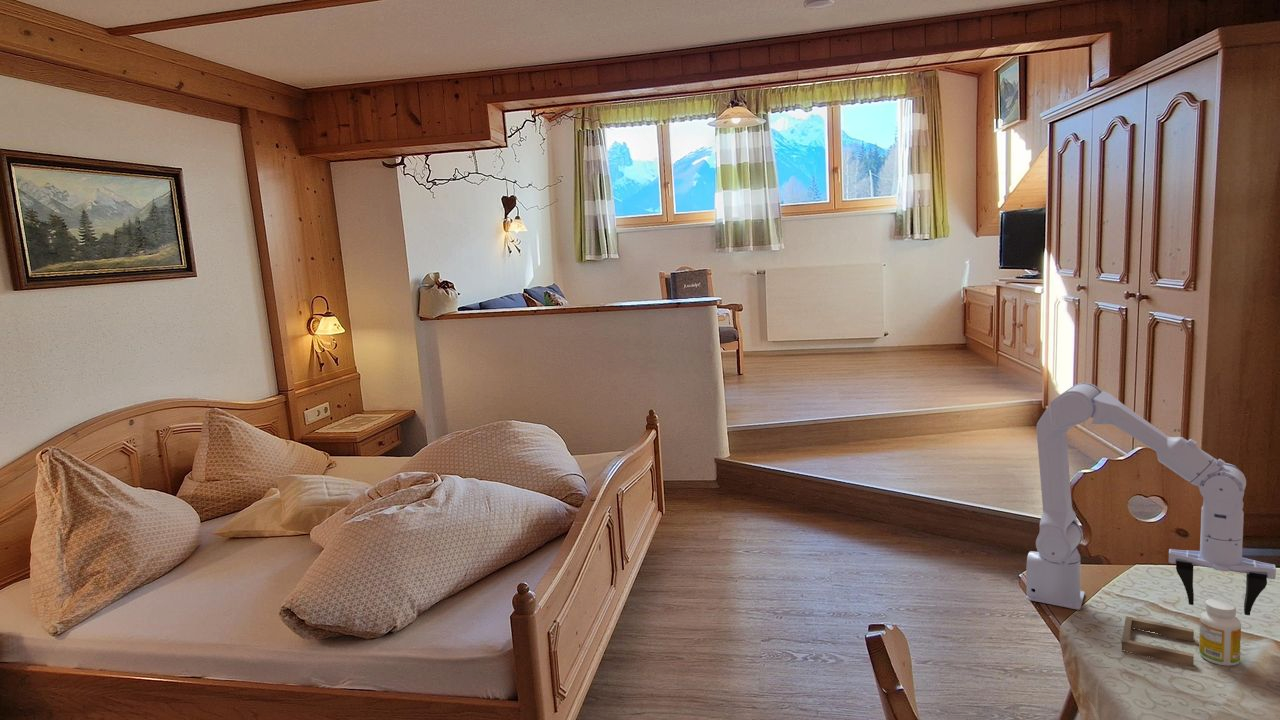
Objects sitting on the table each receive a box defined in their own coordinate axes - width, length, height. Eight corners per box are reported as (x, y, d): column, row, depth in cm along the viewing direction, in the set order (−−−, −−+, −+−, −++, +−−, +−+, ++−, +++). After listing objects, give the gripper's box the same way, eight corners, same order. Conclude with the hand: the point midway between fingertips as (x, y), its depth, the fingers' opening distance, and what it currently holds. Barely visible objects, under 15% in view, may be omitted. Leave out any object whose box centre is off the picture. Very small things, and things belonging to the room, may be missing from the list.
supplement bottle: (1230, 650, 123) (1232, 597, 122) (1246, 668, 118) (1248, 613, 116) (1193, 647, 125) (1194, 595, 123) (1207, 665, 120) (1208, 610, 118)
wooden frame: (1121, 650, 125) (1121, 641, 125) (1125, 625, 133) (1125, 616, 133) (1193, 666, 119) (1193, 656, 119) (1193, 638, 127) (1193, 629, 127)
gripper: (1169, 535, 126) (1167, 607, 128) (1278, 550, 117) (1274, 628, 119) (1170, 521, 132) (1168, 591, 133) (1275, 535, 123) (1271, 609, 125)
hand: (1218, 607), depth 127 cm, fingers open, 7 cm apart
